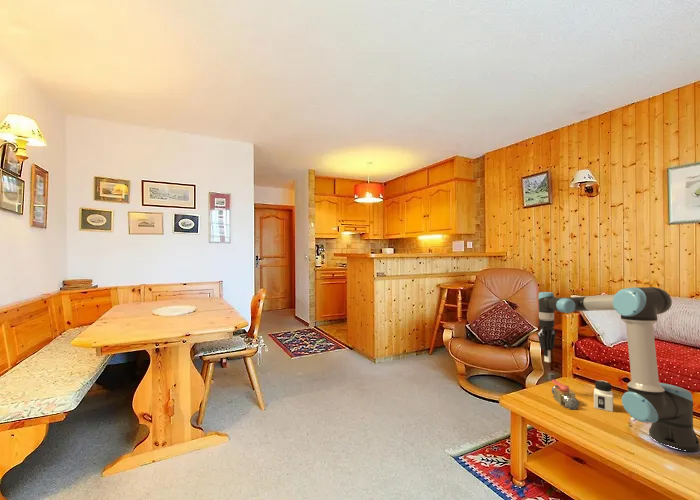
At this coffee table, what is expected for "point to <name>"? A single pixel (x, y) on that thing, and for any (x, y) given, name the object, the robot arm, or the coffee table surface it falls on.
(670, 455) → the coffee table surface
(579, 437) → the coffee table surface
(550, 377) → the lever
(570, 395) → the valve pipe
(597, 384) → the container
